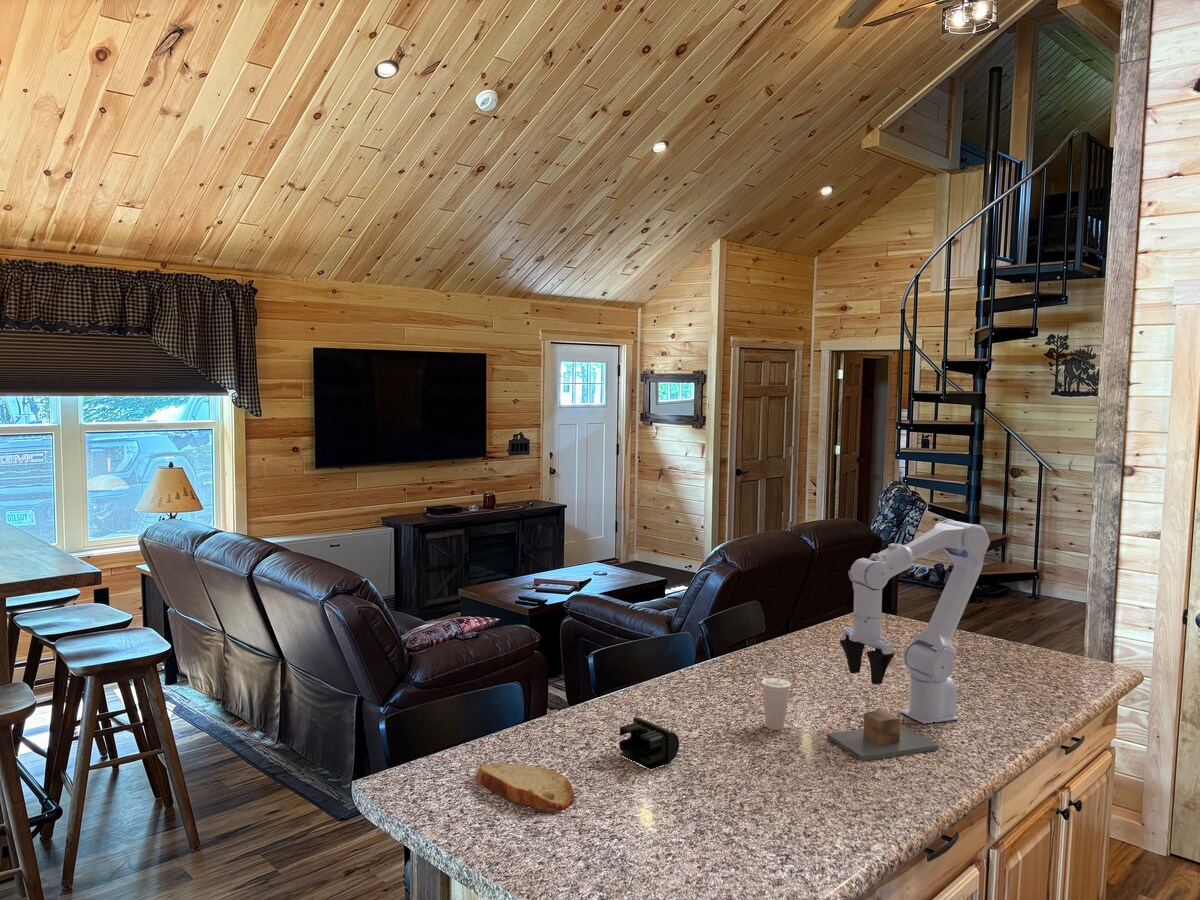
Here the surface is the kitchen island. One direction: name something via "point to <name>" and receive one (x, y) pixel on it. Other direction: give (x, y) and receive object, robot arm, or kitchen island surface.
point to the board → (870, 750)
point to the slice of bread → (528, 786)
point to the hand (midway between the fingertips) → (865, 678)
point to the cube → (881, 727)
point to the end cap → (648, 743)
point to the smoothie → (775, 700)
